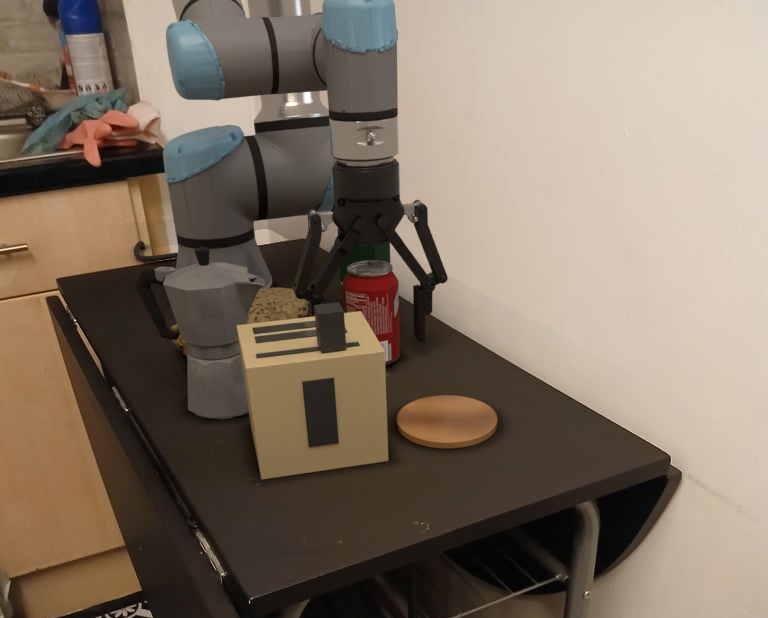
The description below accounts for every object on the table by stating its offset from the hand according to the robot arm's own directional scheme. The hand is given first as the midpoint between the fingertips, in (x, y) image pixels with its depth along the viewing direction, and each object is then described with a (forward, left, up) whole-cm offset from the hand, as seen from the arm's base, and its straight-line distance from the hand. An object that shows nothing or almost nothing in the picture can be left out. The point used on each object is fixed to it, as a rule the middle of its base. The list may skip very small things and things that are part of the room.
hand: (373, 344), depth 100 cm
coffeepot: (+6, -20, -2) cm, 21 cm away
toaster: (+19, -11, -2) cm, 22 cm away
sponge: (-10, -15, -2) cm, 18 cm away
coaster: (+19, +4, -2) cm, 20 cm away
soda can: (0, 0, -2) cm, 2 cm away
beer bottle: (-18, +3, -2) cm, 18 cm away
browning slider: (+23, -9, +10) cm, 26 cm away
